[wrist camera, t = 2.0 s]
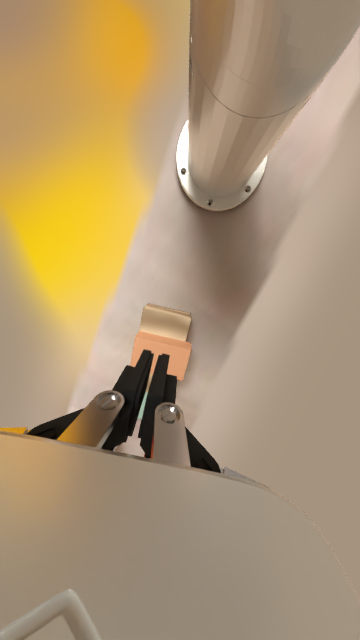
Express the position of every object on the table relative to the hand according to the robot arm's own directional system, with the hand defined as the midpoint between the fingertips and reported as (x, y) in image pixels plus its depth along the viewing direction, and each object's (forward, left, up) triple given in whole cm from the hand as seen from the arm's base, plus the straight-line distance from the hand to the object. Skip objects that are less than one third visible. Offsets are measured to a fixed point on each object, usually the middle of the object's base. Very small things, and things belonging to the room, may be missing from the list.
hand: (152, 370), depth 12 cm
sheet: (+9, 0, -21) cm, 23 cm away
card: (+8, 0, -17) cm, 19 cm away
